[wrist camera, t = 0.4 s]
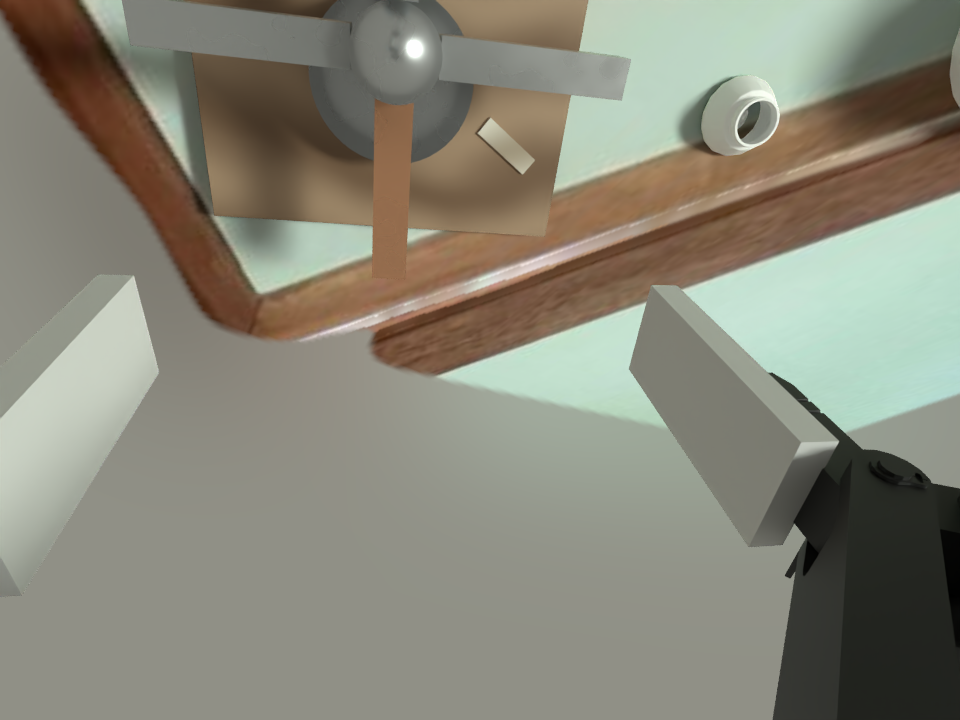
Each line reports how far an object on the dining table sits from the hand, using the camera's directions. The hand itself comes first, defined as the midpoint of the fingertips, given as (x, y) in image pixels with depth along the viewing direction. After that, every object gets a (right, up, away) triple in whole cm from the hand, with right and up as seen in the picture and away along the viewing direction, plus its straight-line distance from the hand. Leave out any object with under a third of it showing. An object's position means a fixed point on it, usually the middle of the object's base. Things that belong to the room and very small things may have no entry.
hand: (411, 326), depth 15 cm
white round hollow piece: (+19, +16, +24) cm, 35 cm away
